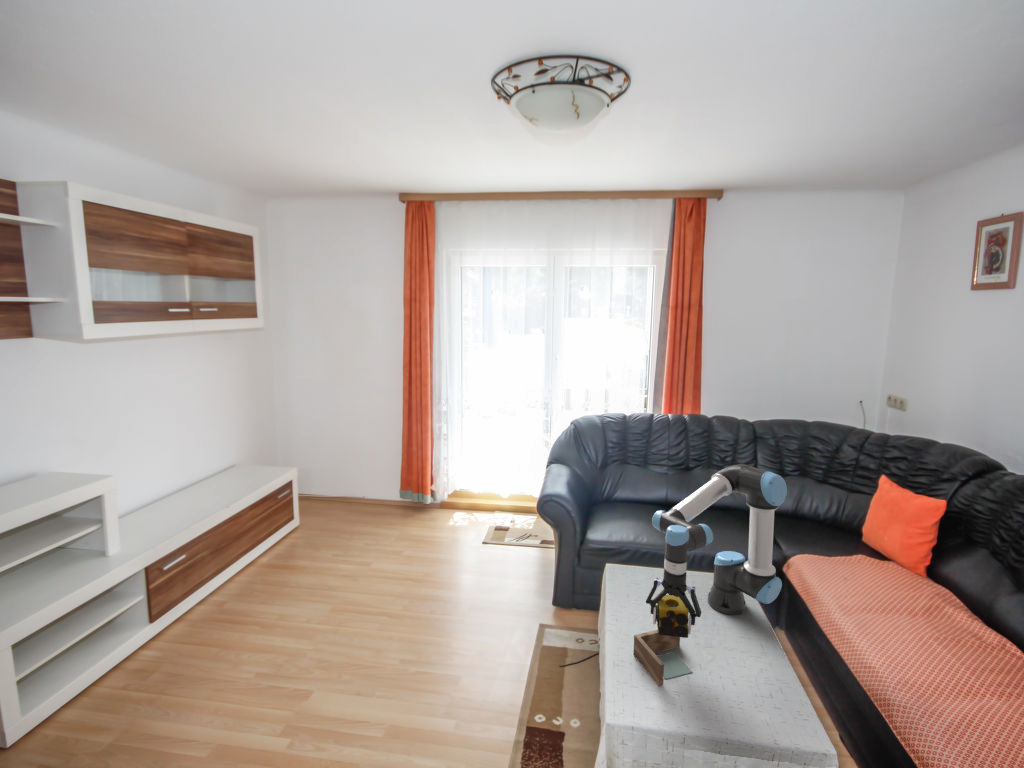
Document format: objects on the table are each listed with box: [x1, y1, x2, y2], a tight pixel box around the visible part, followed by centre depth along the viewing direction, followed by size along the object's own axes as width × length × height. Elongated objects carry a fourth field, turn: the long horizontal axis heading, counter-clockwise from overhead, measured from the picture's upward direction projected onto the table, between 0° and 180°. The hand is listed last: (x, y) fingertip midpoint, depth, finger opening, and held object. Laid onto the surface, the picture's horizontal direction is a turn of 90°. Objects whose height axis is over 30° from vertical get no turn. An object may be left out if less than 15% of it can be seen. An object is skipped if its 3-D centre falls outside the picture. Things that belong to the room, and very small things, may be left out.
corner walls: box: [632, 629, 681, 687], centre depth 183 cm, size 19×16×8 cm
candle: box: [656, 593, 690, 639], centre depth 180 cm, size 10×10×10 cm
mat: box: [656, 651, 694, 680], centre depth 183 cm, size 11×11×1 cm
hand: (671, 627), depth 180 cm, fingers closed on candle, 11 cm apart
